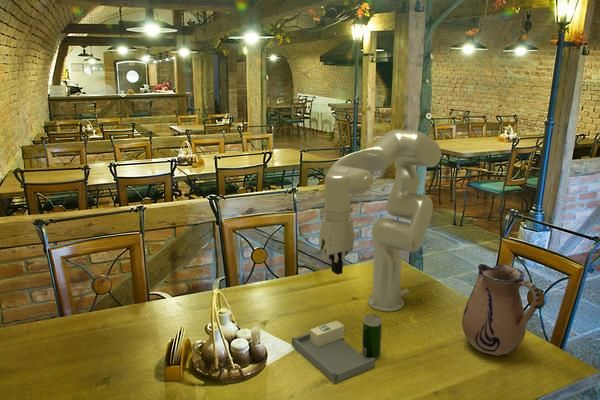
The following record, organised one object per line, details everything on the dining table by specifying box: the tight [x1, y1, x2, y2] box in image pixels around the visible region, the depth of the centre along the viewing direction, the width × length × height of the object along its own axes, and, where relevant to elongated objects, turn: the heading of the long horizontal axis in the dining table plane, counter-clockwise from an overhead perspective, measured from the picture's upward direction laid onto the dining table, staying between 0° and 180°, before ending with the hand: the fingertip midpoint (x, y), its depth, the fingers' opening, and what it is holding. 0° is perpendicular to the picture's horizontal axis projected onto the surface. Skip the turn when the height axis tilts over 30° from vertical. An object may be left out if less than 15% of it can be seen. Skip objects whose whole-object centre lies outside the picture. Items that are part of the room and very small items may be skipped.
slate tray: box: [291, 332, 376, 384], centre depth 143 cm, size 14×22×2 cm, turn 32°
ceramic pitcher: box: [461, 263, 541, 357], centre depth 143 cm, size 18×21×25 cm
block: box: [309, 320, 345, 347], centre depth 150 cm, size 4×4×10 cm
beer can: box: [361, 313, 383, 360], centre depth 142 cm, size 5×5×12 cm
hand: (337, 272), depth 146 cm, fingers closed
